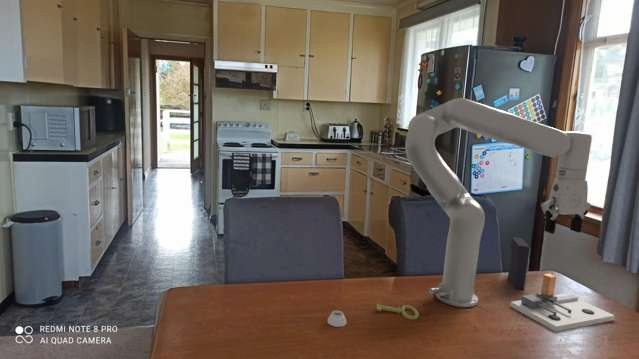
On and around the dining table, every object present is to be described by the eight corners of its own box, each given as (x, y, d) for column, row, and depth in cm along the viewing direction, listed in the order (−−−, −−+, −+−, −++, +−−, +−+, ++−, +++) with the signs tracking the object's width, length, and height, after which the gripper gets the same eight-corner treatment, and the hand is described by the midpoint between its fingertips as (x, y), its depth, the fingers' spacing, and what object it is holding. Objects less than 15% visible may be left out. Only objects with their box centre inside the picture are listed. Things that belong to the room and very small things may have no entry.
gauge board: (555, 331, 123) (557, 317, 122) (510, 306, 137) (512, 293, 137) (613, 320, 132) (616, 307, 132) (565, 297, 147) (567, 286, 146)
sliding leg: (565, 314, 129) (570, 287, 128) (535, 299, 138) (539, 273, 137) (575, 312, 131) (580, 285, 129) (545, 297, 140) (549, 272, 139)
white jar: (349, 326, 118) (341, 318, 123) (350, 316, 118) (342, 308, 123) (331, 329, 117) (324, 320, 121) (332, 318, 116) (325, 310, 121)
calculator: (526, 290, 151) (532, 247, 149) (512, 288, 152) (518, 245, 149) (518, 278, 162) (524, 238, 159) (506, 277, 163) (511, 236, 160)
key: (373, 310, 129) (373, 303, 129) (412, 308, 132) (413, 302, 132) (382, 322, 123) (383, 315, 122) (423, 320, 126) (424, 313, 125)
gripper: (557, 176, 124) (549, 236, 127) (605, 177, 130) (595, 234, 132) (537, 172, 131) (529, 229, 134) (583, 172, 137) (574, 227, 139)
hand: (562, 231), depth 133 cm, fingers open, 9 cm apart
